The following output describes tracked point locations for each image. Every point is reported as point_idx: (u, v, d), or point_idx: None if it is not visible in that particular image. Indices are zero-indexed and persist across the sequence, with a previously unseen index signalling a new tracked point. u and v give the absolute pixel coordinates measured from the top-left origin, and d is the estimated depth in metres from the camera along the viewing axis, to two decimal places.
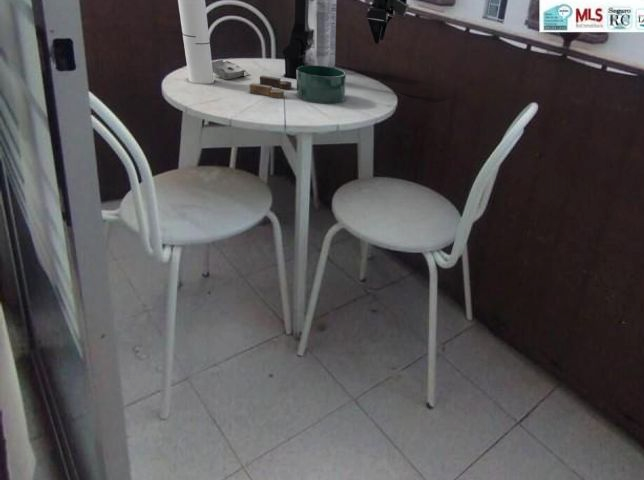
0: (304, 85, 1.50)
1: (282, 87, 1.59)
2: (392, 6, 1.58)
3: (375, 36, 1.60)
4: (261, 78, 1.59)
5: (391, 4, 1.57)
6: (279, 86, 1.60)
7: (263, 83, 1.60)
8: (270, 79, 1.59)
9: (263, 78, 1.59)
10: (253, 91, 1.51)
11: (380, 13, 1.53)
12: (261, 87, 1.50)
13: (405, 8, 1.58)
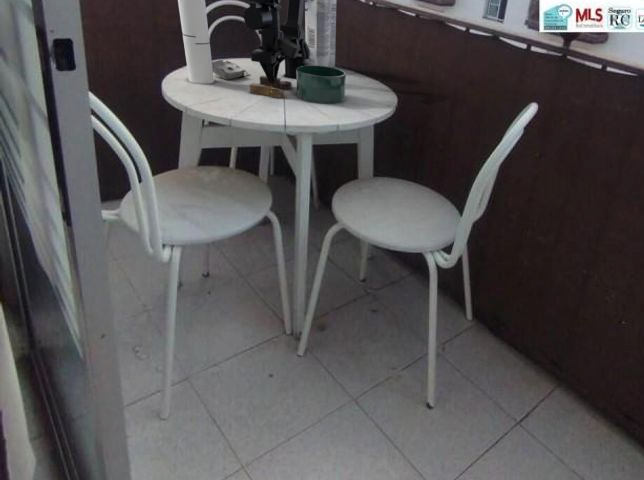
0: (304, 85, 1.50)
1: (282, 87, 1.59)
2: (280, 48, 1.52)
3: (268, 76, 1.58)
4: (261, 78, 1.59)
5: (279, 46, 1.52)
6: (279, 86, 1.60)
7: (263, 83, 1.60)
8: None
9: (263, 78, 1.59)
10: (253, 91, 1.51)
11: (264, 57, 1.48)
12: (261, 87, 1.50)
13: (294, 50, 1.53)
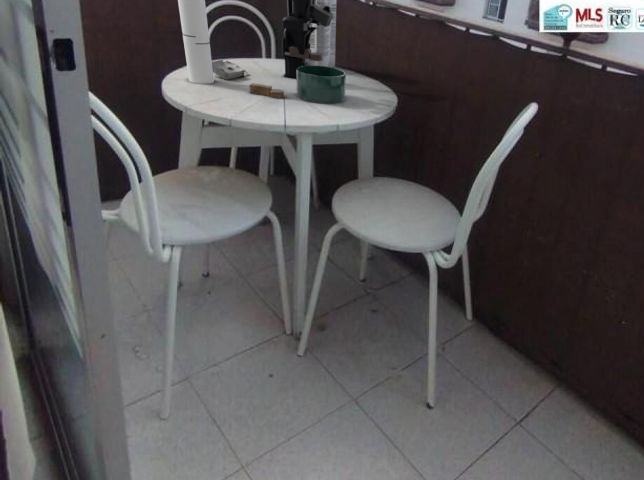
0: (304, 85, 1.50)
1: (313, 58, 1.51)
2: (312, 15, 1.44)
3: (299, 46, 1.49)
4: (291, 49, 1.51)
5: (311, 13, 1.43)
6: (310, 57, 1.51)
7: (293, 54, 1.52)
8: None
9: (293, 49, 1.51)
10: (253, 91, 1.51)
11: (296, 24, 1.39)
12: (261, 87, 1.50)
13: (327, 18, 1.44)
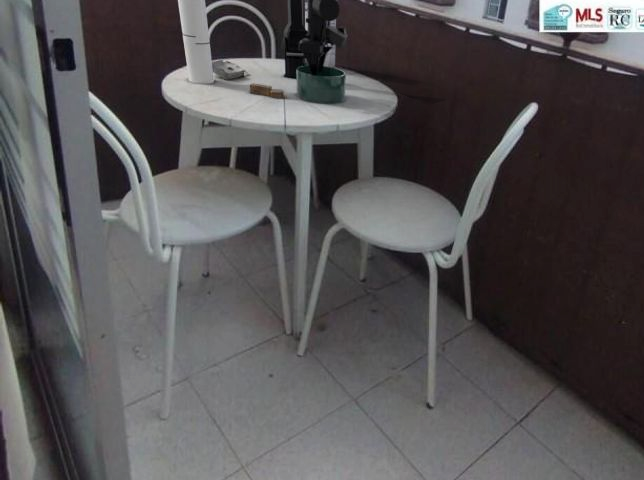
0: (304, 85, 1.50)
1: None
2: (328, 37, 1.46)
3: (312, 68, 1.50)
4: None
5: (327, 35, 1.45)
6: None
7: None
8: None
9: None
10: (253, 91, 1.51)
11: (313, 46, 1.41)
12: (261, 87, 1.50)
13: (342, 39, 1.46)
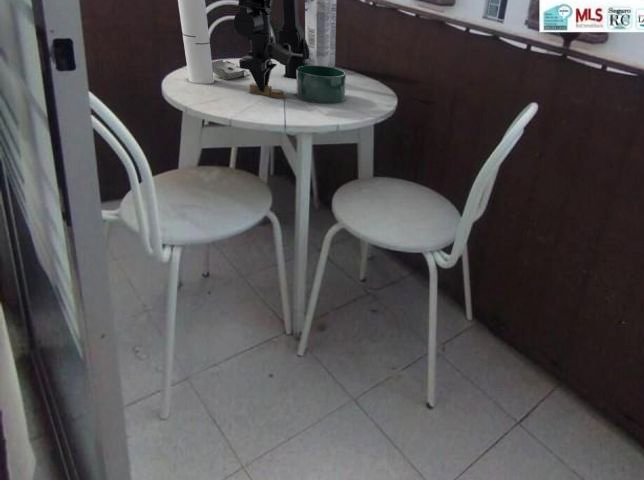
0: (304, 85, 1.50)
1: None
2: (271, 54, 1.43)
3: (259, 84, 1.49)
4: None
5: (269, 52, 1.43)
6: None
7: None
8: None
9: None
10: (253, 91, 1.51)
11: (254, 64, 1.39)
12: None
13: (285, 56, 1.44)
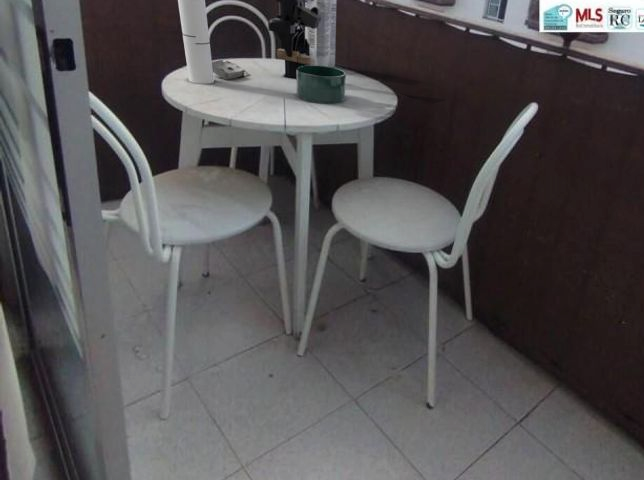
0: (304, 85, 1.50)
1: None
2: (300, 17, 1.40)
3: (286, 49, 1.46)
4: None
5: (298, 15, 1.40)
6: None
7: None
8: None
9: None
10: (280, 57, 1.48)
11: (283, 26, 1.36)
12: None
13: (314, 20, 1.41)
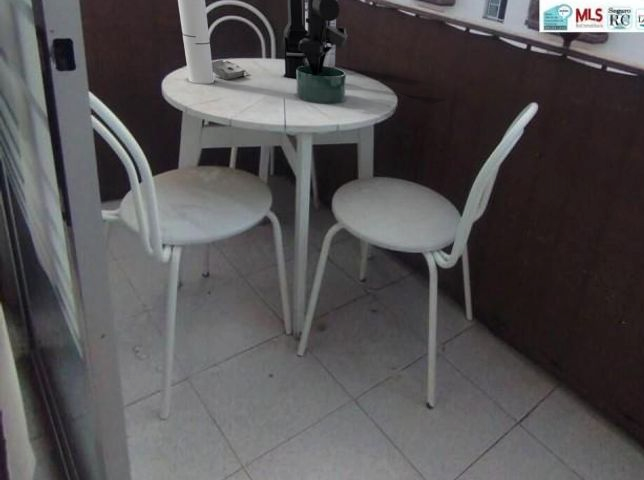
0: (304, 85, 1.50)
1: None
2: (328, 37, 1.46)
3: (313, 68, 1.50)
4: None
5: (327, 35, 1.45)
6: None
7: None
8: None
9: None
10: None
11: (313, 46, 1.41)
12: None
13: (342, 39, 1.46)
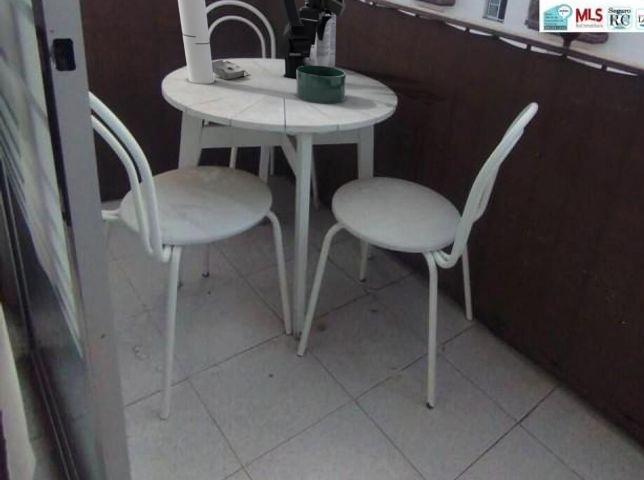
0: (304, 85, 1.50)
1: None
2: (327, 6, 1.52)
3: (310, 37, 1.54)
4: None
5: (325, 4, 1.51)
6: None
7: None
8: None
9: None
10: None
11: (312, 13, 1.47)
12: None
13: (340, 8, 1.52)
